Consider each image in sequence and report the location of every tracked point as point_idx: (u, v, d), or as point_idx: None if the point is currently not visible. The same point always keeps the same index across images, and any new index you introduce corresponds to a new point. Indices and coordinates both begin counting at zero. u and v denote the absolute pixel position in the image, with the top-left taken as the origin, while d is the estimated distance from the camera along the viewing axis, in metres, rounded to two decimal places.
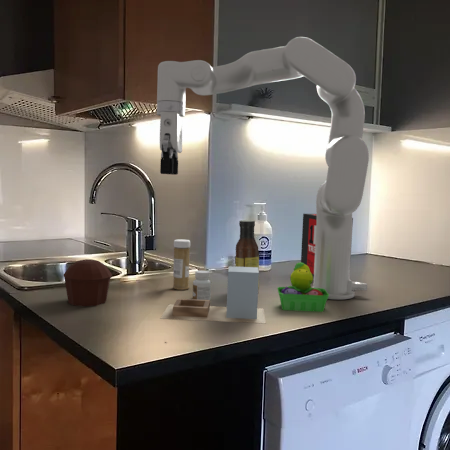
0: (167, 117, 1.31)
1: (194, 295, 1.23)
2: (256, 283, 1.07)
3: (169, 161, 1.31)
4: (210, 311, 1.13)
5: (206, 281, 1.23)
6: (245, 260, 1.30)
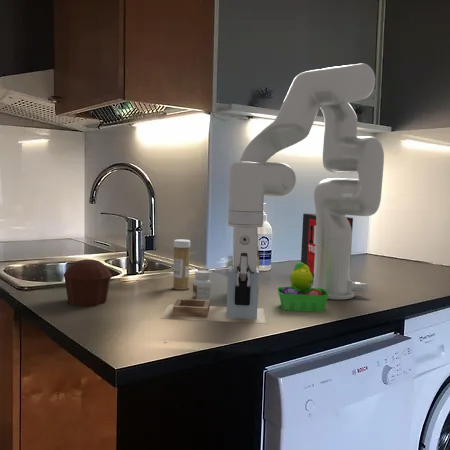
0: (244, 233, 1.05)
1: (194, 295, 1.23)
2: (256, 283, 1.07)
3: (246, 291, 1.06)
4: (210, 311, 1.13)
5: (206, 281, 1.23)
6: None
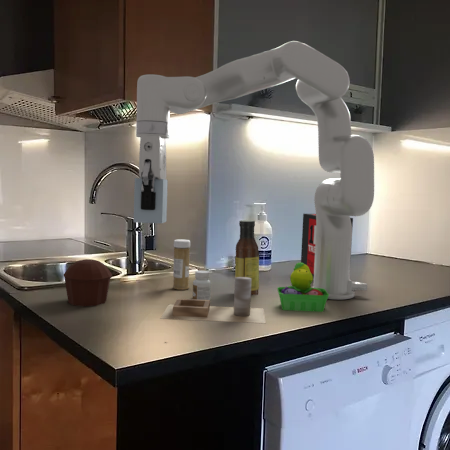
0: (148, 140, 1.12)
1: (194, 295, 1.23)
2: (161, 189, 1.14)
3: (151, 195, 1.13)
4: (210, 311, 1.13)
5: (206, 281, 1.23)
6: (245, 260, 1.30)
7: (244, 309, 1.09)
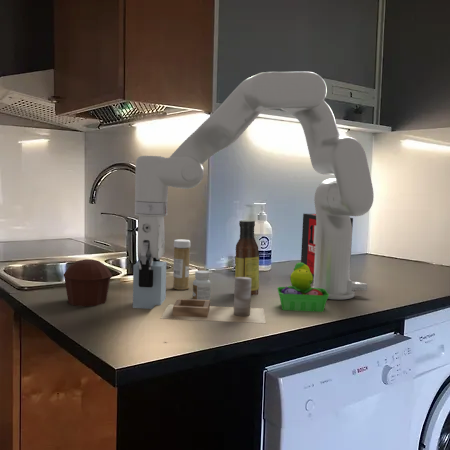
0: (146, 221, 1.14)
1: (194, 295, 1.23)
2: (159, 276, 1.16)
3: (148, 273, 1.14)
4: (210, 311, 1.13)
5: (206, 281, 1.23)
6: (245, 260, 1.30)
7: (244, 309, 1.09)
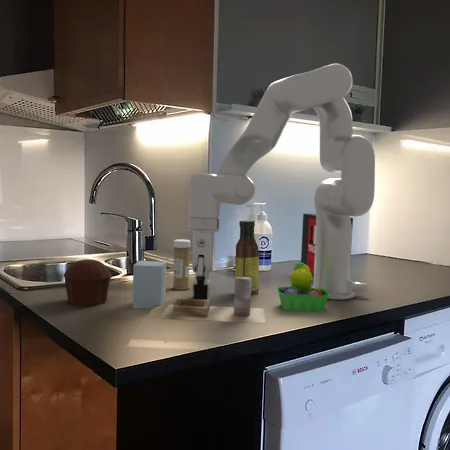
0: (201, 237, 1.19)
1: None
2: (159, 276, 1.16)
3: (203, 289, 1.21)
4: (210, 311, 1.13)
5: None
6: (245, 260, 1.30)
7: (244, 309, 1.09)
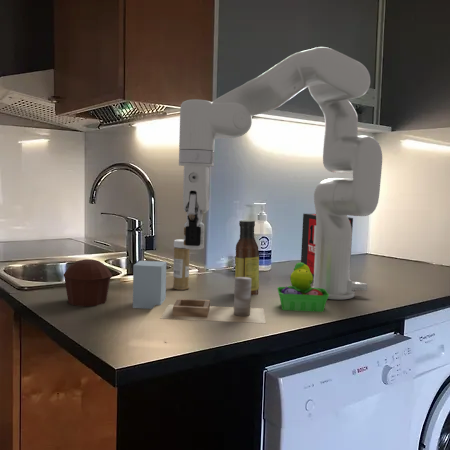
0: (193, 170, 1.04)
1: None
2: (159, 276, 1.16)
3: (196, 231, 1.07)
4: (210, 311, 1.13)
5: None
6: (245, 260, 1.30)
7: (244, 309, 1.09)
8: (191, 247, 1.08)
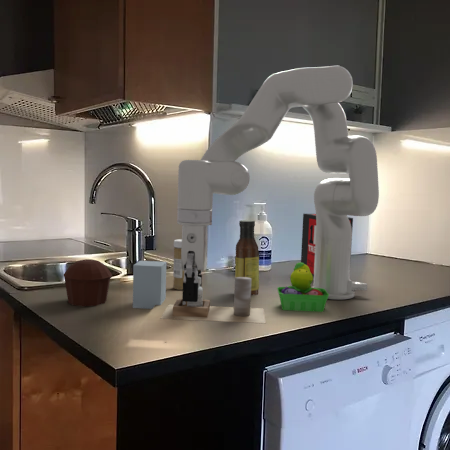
0: (191, 231, 1.05)
1: (184, 304, 1.10)
2: (159, 276, 1.16)
3: (193, 287, 1.06)
4: (210, 311, 1.13)
5: None
6: (245, 260, 1.30)
7: (244, 309, 1.09)
8: None
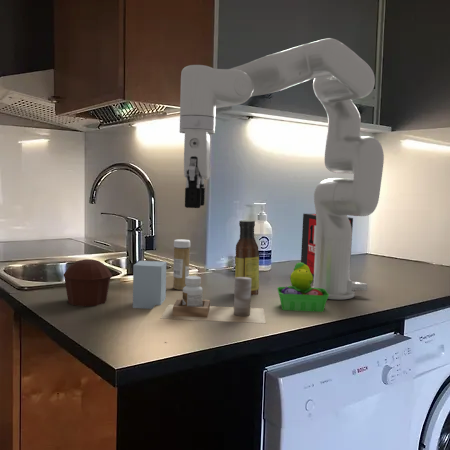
0: (194, 136, 1.04)
1: (184, 304, 1.10)
2: (159, 276, 1.16)
3: (196, 192, 1.04)
4: (210, 311, 1.13)
5: (197, 288, 1.10)
6: (245, 260, 1.30)
7: (244, 309, 1.09)
8: None
